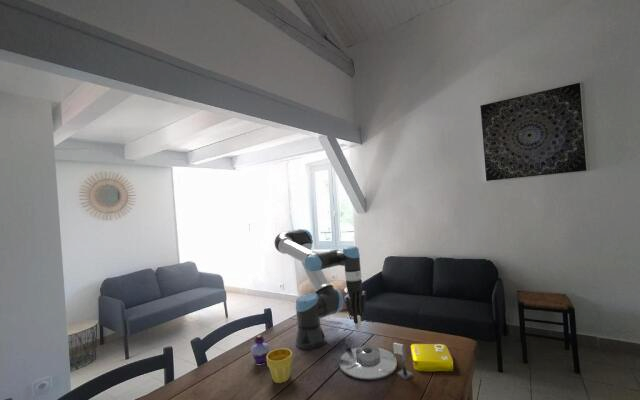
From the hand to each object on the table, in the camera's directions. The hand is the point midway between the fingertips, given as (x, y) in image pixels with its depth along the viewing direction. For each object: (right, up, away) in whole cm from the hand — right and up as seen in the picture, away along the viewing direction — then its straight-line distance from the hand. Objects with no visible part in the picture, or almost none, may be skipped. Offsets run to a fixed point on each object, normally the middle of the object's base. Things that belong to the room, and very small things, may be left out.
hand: (358, 329), depth 139 cm
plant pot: (-34, -11, -20) cm, 41 cm away
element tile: (+28, -7, -17) cm, 33 cm away
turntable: (+1, -8, -14) cm, 16 cm away
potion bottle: (-45, -13, -6) cm, 47 cm away
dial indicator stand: (+15, -7, -25) cm, 30 cm away
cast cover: (+2, -7, -15) cm, 16 cm away
